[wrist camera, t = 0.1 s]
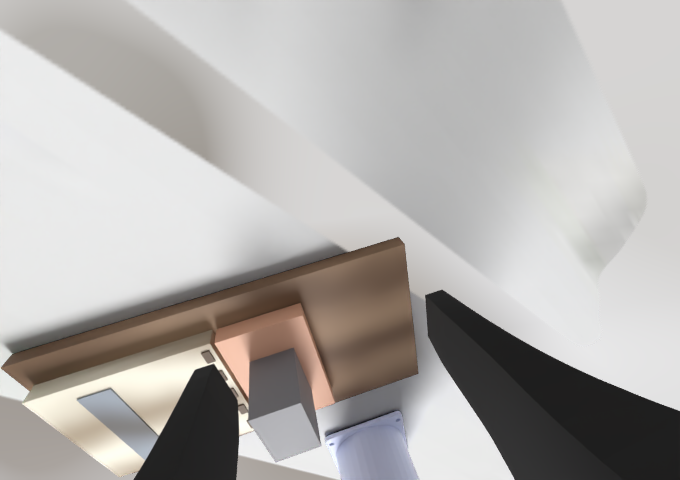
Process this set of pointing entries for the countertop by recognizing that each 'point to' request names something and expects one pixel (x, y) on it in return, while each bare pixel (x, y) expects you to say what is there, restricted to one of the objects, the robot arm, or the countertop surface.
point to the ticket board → (200, 350)
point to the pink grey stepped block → (278, 378)
